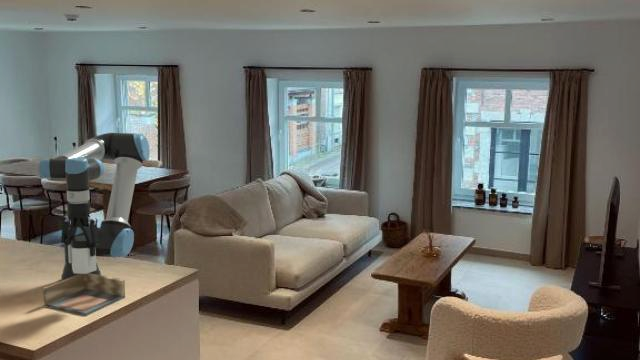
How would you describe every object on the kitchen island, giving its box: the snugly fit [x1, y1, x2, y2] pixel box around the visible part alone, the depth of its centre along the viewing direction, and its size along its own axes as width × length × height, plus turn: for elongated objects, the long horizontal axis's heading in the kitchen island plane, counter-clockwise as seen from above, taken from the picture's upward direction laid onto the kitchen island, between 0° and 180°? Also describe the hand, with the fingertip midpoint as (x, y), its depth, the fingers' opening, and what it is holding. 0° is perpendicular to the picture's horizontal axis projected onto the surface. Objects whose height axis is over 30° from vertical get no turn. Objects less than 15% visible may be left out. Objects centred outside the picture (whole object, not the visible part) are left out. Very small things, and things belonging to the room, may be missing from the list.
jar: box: [70, 236, 97, 274], centre depth 228 cm, size 9×8×12 cm
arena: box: [42, 273, 126, 317], centre depth 234 cm, size 20×20×7 cm
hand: (81, 263), depth 228 cm, fingers closed on jar, 7 cm apart
